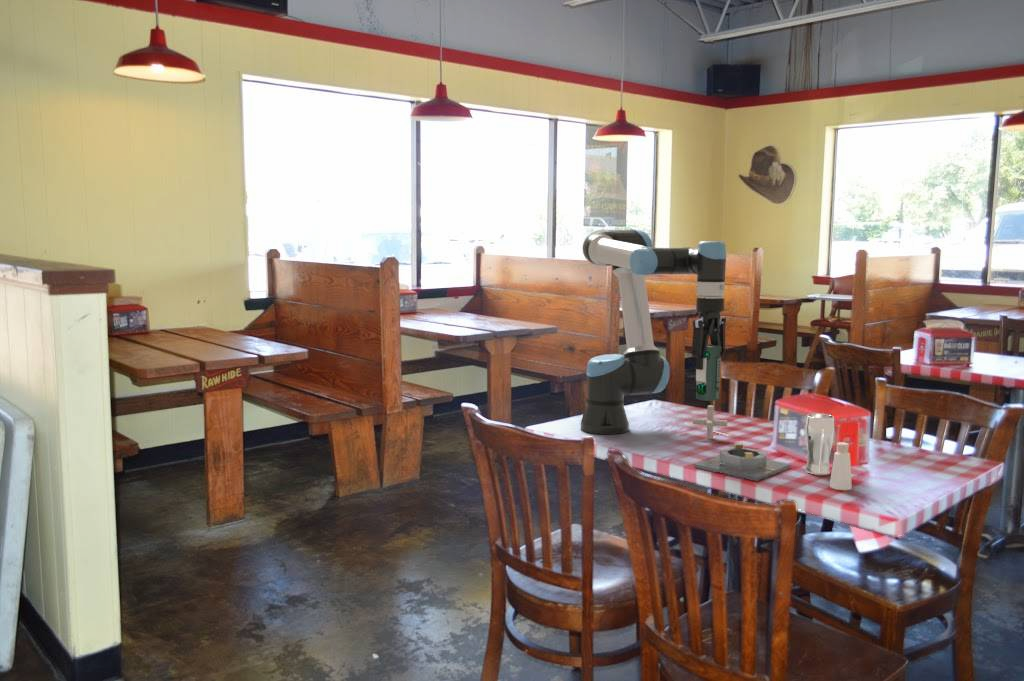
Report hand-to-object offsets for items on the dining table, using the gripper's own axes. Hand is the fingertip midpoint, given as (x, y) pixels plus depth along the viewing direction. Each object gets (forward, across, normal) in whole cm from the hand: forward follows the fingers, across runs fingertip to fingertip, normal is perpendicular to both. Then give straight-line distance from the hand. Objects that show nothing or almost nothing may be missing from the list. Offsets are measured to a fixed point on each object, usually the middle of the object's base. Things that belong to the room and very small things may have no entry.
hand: (707, 379), depth 241 cm
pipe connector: (+21, +16, +9) cm, 28 cm away
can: (+6, 0, 0) cm, 6 cm away
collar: (+21, -7, -15) cm, 27 cm away
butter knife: (+22, +27, +19) cm, 39 cm away
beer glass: (+21, +3, -31) cm, 38 cm away
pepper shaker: (+21, -6, -41) cm, 47 cm away
